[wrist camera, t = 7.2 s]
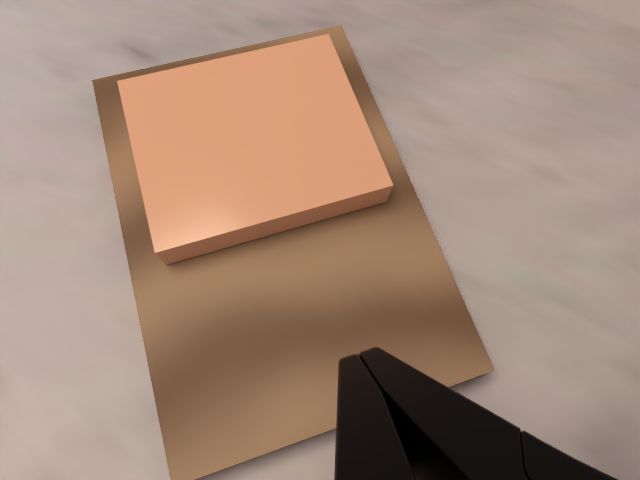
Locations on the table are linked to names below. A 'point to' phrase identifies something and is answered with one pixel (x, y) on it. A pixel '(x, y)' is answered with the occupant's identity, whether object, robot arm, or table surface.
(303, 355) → the board
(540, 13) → the table surface
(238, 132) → the tile
